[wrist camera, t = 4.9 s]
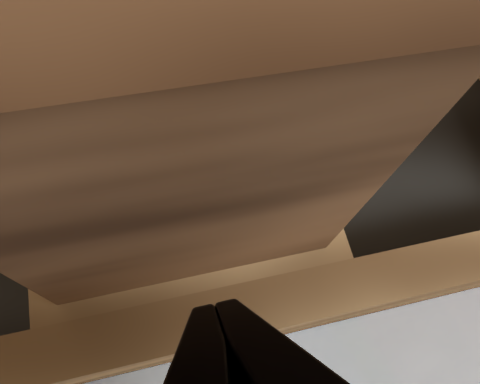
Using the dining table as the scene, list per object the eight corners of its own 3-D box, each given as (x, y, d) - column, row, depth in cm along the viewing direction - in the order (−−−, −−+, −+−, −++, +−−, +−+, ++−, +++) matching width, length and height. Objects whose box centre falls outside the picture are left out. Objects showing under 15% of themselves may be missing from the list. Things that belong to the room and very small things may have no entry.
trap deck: (599, 257, 18) (672, 233, 15) (-340, 486, 12) (-493, 514, 10) (394, -110, 26) (417, -168, 23) (-216, -64, 21) (-279, -132, 18)
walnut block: (325, 247, 14) (512, 40, 5) (57, 305, 12) (-228, 145, 4) (249, 7, 17) (291, -331, 9) (36, 31, 16) (-135, -337, 8)
